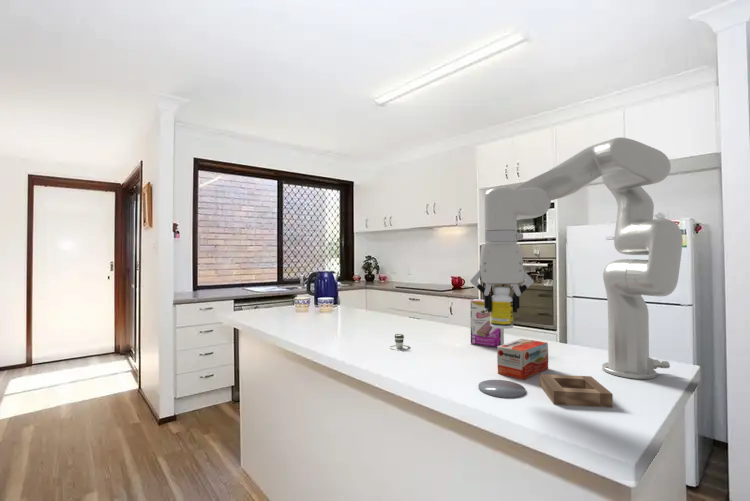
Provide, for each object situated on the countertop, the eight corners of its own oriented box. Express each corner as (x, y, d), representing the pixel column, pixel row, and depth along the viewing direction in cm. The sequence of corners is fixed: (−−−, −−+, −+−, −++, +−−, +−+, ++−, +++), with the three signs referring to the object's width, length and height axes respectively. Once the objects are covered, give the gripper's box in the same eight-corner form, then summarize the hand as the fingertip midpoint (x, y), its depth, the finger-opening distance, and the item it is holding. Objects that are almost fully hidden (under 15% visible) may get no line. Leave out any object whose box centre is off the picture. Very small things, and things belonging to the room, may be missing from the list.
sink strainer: (421, 346, 140) (421, 333, 140) (406, 354, 130) (406, 339, 130) (392, 342, 146) (392, 329, 146) (376, 349, 136) (376, 335, 136)
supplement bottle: (515, 329, 91) (514, 288, 91) (491, 328, 92) (491, 288, 92) (511, 325, 97) (511, 286, 97) (489, 324, 98) (488, 286, 98)
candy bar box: (470, 344, 141) (469, 300, 141) (474, 341, 146) (473, 298, 146) (501, 348, 135) (500, 302, 136) (504, 345, 140) (504, 300, 140)
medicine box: (522, 363, 117) (522, 337, 117) (549, 369, 111) (548, 341, 111) (496, 374, 107) (496, 345, 107) (524, 381, 101) (524, 351, 101)
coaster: (520, 383, 99) (520, 380, 99) (529, 399, 88) (529, 396, 88) (476, 381, 101) (476, 378, 101) (480, 396, 90) (480, 393, 90)
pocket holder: (591, 388, 95) (591, 376, 95) (612, 407, 83) (612, 393, 83) (540, 386, 97) (539, 374, 97) (553, 404, 85) (553, 390, 85)
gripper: (533, 238, 97) (534, 309, 97) (464, 239, 100) (465, 308, 100) (541, 237, 90) (542, 314, 89) (466, 238, 93) (467, 313, 92)
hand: (501, 310), depth 95 cm, fingers closed on supplement bottle, 5 cm apart
